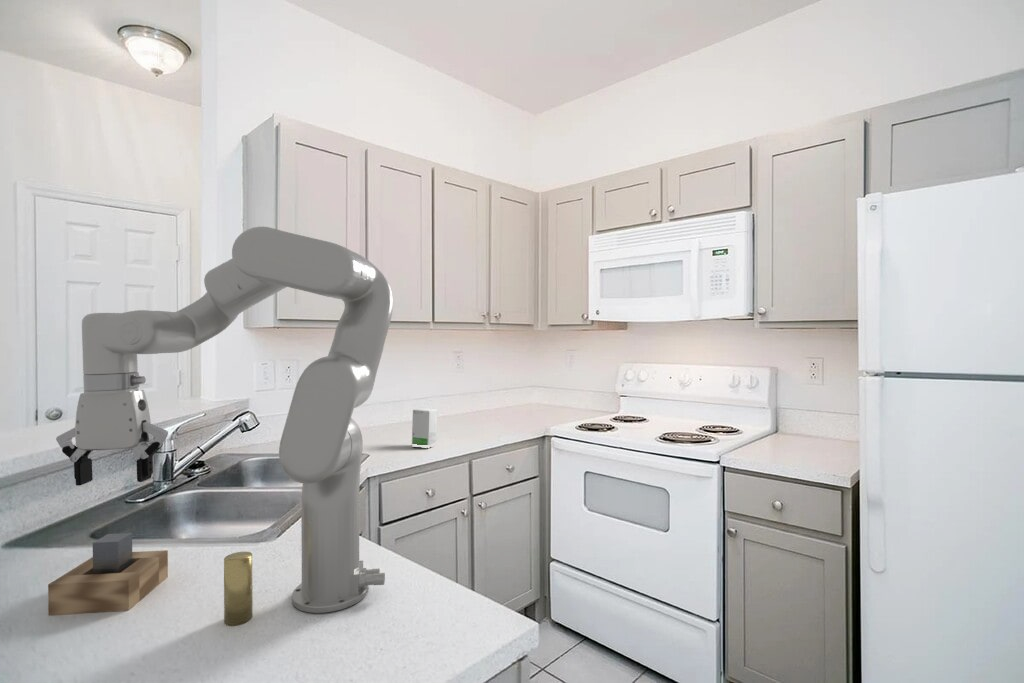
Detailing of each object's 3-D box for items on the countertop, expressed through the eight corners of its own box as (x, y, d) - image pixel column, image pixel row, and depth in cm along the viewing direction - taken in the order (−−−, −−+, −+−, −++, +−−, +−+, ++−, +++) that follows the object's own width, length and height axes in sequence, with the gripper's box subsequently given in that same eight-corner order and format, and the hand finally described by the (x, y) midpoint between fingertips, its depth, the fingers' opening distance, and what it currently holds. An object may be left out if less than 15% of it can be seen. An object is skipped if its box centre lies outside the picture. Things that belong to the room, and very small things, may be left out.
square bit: (132, 588, 92) (132, 532, 92) (118, 599, 88) (118, 541, 88) (108, 589, 92) (107, 534, 92) (92, 601, 88) (92, 542, 88)
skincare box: (411, 447, 210) (411, 409, 210) (420, 444, 216) (420, 407, 216) (429, 449, 207) (429, 410, 207) (437, 446, 213) (437, 408, 213)
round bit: (256, 611, 85) (256, 550, 85) (246, 625, 81) (246, 561, 81) (230, 613, 84) (230, 552, 84) (219, 626, 80) (219, 562, 80)
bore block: (167, 576, 97) (167, 550, 97) (128, 610, 85) (128, 580, 85) (98, 580, 95) (97, 553, 95) (48, 615, 83) (48, 584, 83)
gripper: (175, 380, 95) (178, 473, 95) (72, 383, 92) (75, 478, 93) (152, 383, 87) (155, 484, 87) (39, 387, 85) (43, 491, 85)
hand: (114, 481), depth 90 cm, fingers open, 9 cm apart
